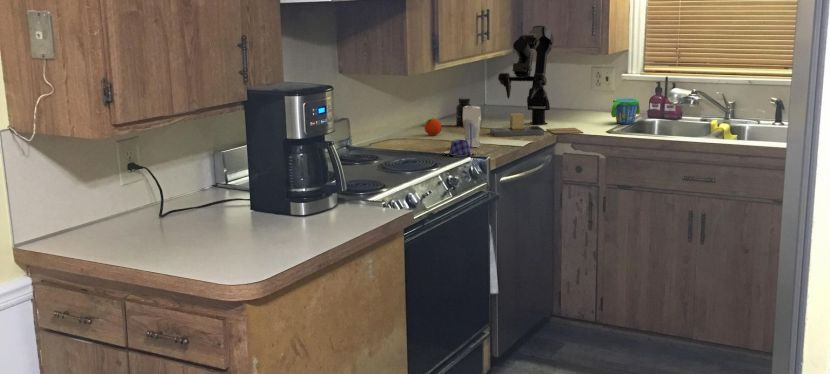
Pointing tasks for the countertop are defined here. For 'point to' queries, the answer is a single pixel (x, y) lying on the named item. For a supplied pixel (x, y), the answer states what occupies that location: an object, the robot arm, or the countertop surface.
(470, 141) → the beer glass
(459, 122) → the supplement bottle
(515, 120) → the wood grain block
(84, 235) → the countertop surface
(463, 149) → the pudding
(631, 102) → the snack cup
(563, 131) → the copper pad
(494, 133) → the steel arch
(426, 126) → the clementine
